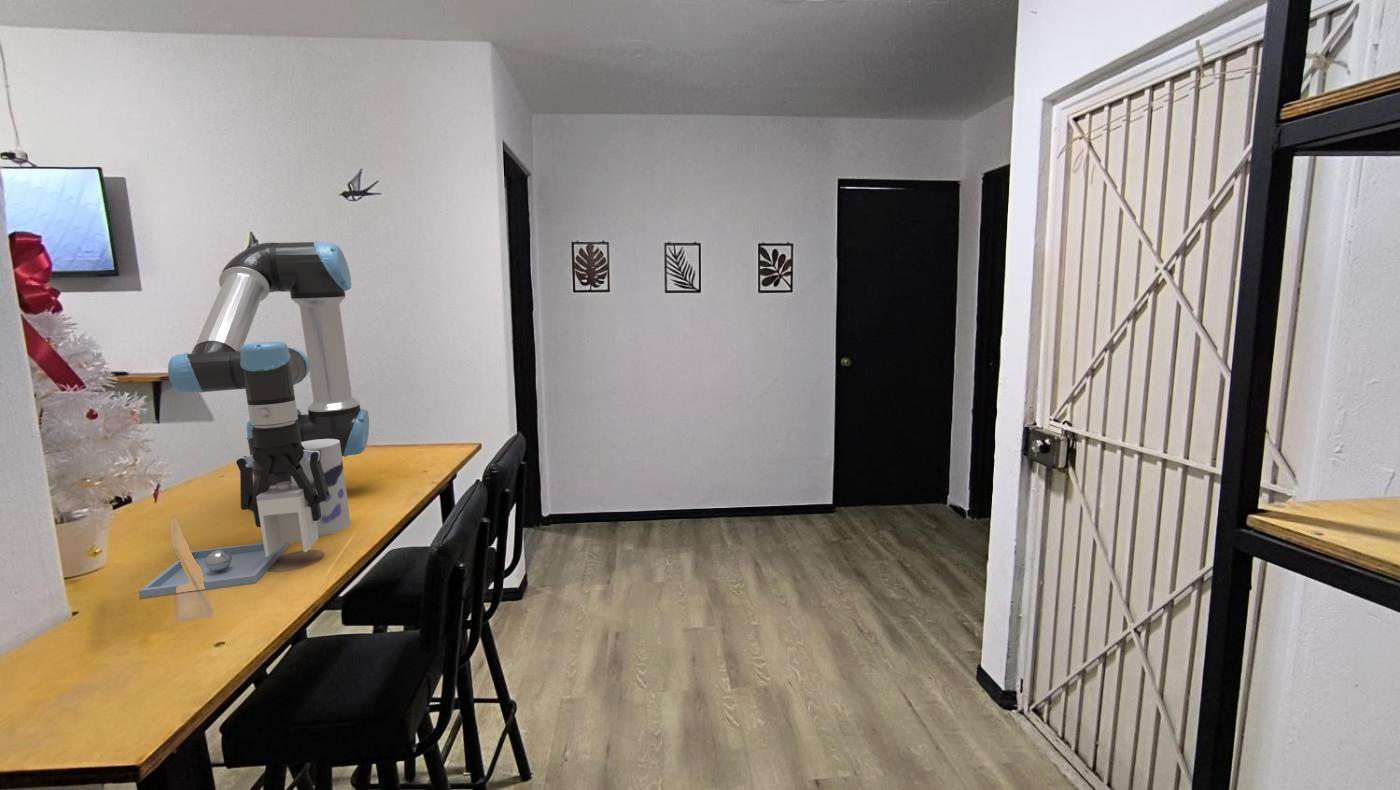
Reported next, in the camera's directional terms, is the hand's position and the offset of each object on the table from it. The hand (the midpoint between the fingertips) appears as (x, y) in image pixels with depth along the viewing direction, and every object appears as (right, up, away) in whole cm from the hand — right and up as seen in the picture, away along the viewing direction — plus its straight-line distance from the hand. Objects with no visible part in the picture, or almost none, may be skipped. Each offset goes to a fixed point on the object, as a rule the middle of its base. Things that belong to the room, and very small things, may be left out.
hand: (291, 538), depth 123 cm
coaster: (0, -5, +1) cm, 5 cm away
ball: (-12, -5, -3) cm, 13 cm away
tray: (-12, -6, -2) cm, 14 cm away
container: (-4, -2, +18) cm, 19 cm away
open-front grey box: (0, -2, 0) cm, 2 cm away
